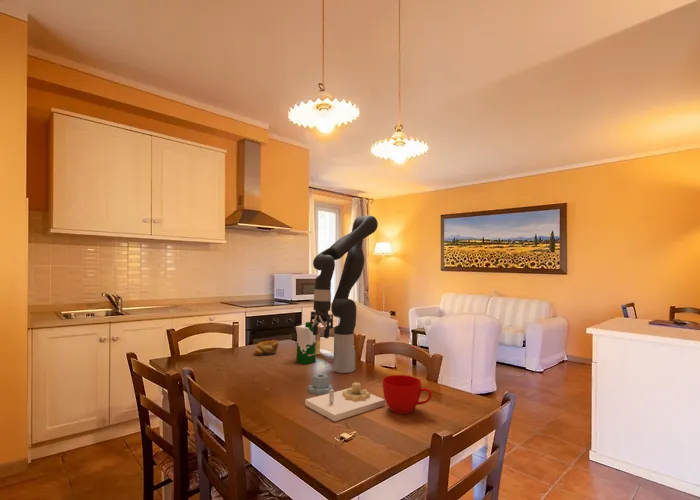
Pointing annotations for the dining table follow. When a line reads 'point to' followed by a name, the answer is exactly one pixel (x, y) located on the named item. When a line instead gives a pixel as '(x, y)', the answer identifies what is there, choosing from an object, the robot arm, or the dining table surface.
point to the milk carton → (305, 344)
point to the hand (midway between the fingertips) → (320, 336)
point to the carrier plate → (345, 402)
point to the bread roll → (266, 347)
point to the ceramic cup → (403, 393)
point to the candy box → (317, 341)
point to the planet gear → (320, 384)
